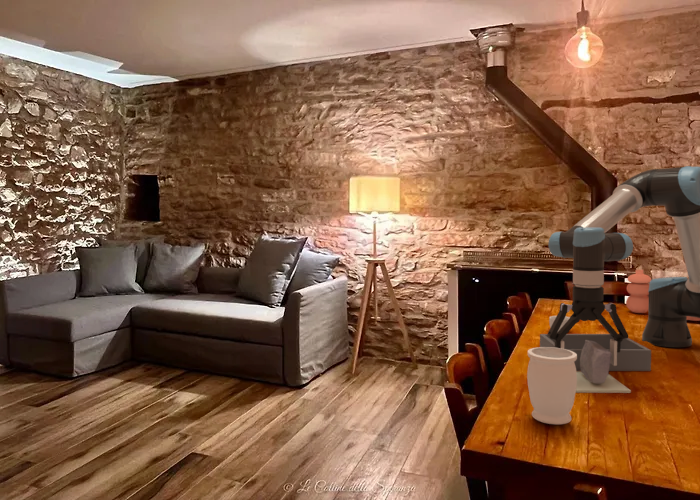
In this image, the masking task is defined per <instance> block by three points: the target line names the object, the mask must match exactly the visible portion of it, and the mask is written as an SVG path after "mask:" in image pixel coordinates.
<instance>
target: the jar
mask: <svg viewBox="0 0 700 500" xmlns="http://www.w3.org/2000/svg"><path fill="white" fill-rule="evenodd" d="M527 356H528V358H529V361H528V366H527V373H526V378H527V379H526V380H527V386H528V392H529V393H528V394H529V398H530V399H529V400H530V404H531V405H532V407H533V410H532V412H531V416H532V417H533V419H535V420H536V421H538V422H541V423H544V424H547V425H548V424H549V425H566V424H568V423H570V422H571V421H572V416H571V414H570V412H571V411H572V409H573V406H574V402H575V399H576V387H577V373H576V372H577V371H576V367H575V363H574V361H576V359H577V354H576V353H575V352H573V351H570V350H566V349H562V348H554V347H540V346H538V347H537V346H536V347H532V348H529V349H528V350H527Z"/></svg>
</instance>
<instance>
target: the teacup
mask: <svg viewBox="0 0 700 500" xmlns="http://www.w3.org/2000/svg"><path fill="white" fill-rule="evenodd" d="M556 317H557V315H552V316H551V315H550V316H549V320H548V322H549V327H550V328H551V326H552V324H553V322H554V320H555V319H556ZM570 317H571V316H567V315H566V316H565V318H564V320H563V322H562V324H561V326H560V328H559V330H560V329H561V328H562V327H563V325H564V324H565V323H566V322H567V321H568V320H569V319H570ZM550 328H549V329H550ZM559 330H558V331H559Z"/></svg>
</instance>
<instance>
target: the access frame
mask: <svg viewBox="0 0 700 500" xmlns="http://www.w3.org/2000/svg"><path fill="white" fill-rule="evenodd" d="M547 334H548V333H541V334H539V347H554V348H555V340H554V339H551V338H550V337H548V335H547ZM610 339H614V338H613V337H612V336H611V335H610V333H567V334H566V335H565V336H564V338H563V339H562V340H563V341H564V349H566V350H570V351H573V352H575V353H576V354H577V359H576V361H574V363H575V367H576V372H581V367H580V364H581V363H580V357H581V352H582V350H583V347H584V345H585V340H590V341H594V342H597V343H598V344H599V345H601V346H602V347H604V348H605V349H607V350H608V351H610ZM651 368H652V349H649V348H648V347H646V346H644V345H643V344H640V343H638V342H637V341H635V340H633V339H631V338H630V337H628V338H627V339H626V338H625V339H623V340H622V341H621V348H620V352H617V366H614V365H612V364H611V363H610V366H609V372H651V370H652V369H651Z"/></svg>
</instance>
